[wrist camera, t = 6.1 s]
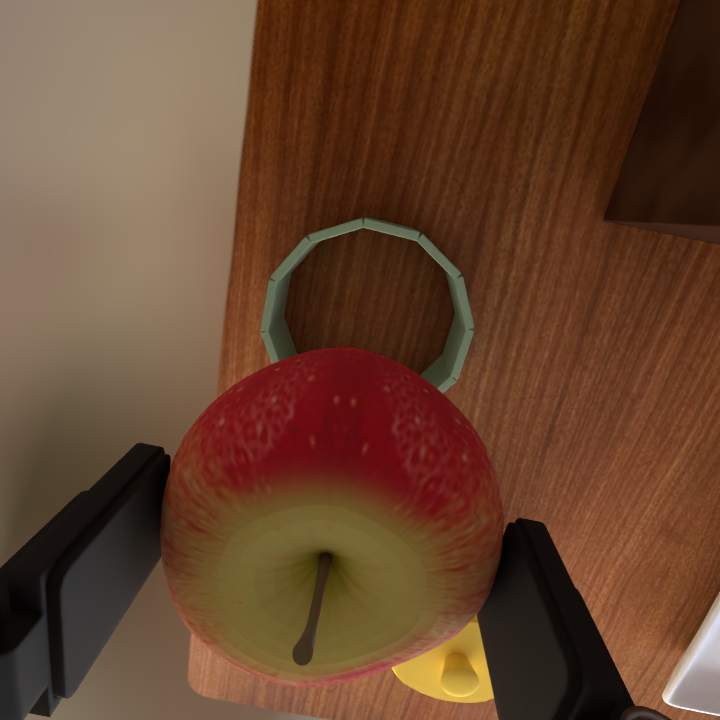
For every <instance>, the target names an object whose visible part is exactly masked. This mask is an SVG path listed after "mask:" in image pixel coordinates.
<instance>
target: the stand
mask: <svg viewBox="0 0 720 720" xmlns="http://www.w3.org/2000/svg"><path fill="white" fill-rule="evenodd" d="M604 221H607V222H612V223H617V224H621V225H626V226H631V227H636V228H641V229H646V230H651V231H656V232H661V233H666V234H670V235H675V236H680V237H685V238H690V239H695V240H700V241H705V242H710V243H714V244H719V245H720V0H681V2H680V5H679V8H678V10H677V13H676V16H675V19H674V22H673V24H672V27H671V30H670V33H669V36H668V39H667V41H666V44H665V47H664V50H663V53H662V56H661V58H660V61H659V64H658V67H657V70H656V73H655V75H654V78H653V81H652V84H651V87H650V89H649V92H648V95H647V98H646V101H645V104H644V106H643V109H642V112H641V115H640V118H639V121H638V123H637V126H636V129H635V132H634V135H633V138H632V140H631V143H630V146H629V149H628V152H627V154H626V157H625V160H624V163H623V166H622V169H621V171H620V174H619V177H618V180H617V183H616V186H615V188H614V191H613V194H612V197H611V200H610V203H609V205H608V208H607V211H606V214H605V217H604Z"/></svg>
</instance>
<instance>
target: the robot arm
mask: <svg viewBox="0 0 720 720" xmlns="http://www.w3.org/2000/svg"><path fill="white" fill-rule="evenodd" d="M170 462H171V459H170V455H167V454H165V452H164V448H162V447H159V446H154V445H148V444H144V443H137V444H136V445H135V446H134V447H133V448H132V449H131V450H130V451H129V452H128V453H126V454H125V456H123V458H121V459H120V460H119V461H118V462H117V463H116V464H115V465H114V466H113V467H112V468H111V469H110V470H109V471H108V472H107V473H106V474H105V475H104V476H103V477H102V478H101V479H100V480H99V481H98V482H97V483H96V484H95V485H94V486H92V487H91V488H90V489H89V490H88V491H83V492H81V493H80V494H78V495H77V496H76V497H75V498H74V499H72V500H71V501H70V502H69V503H68V504H67V505H66V506H65V507H64V508H63V509H62V510H61V511H60V512H59V513H58V514H57V515H56V516H55V517H53V518H52V519H51V520H50V521H49V522H48V523H47V524H46V525H45V526H44V527H43V528H42V529H41V530H40V531H39V532H38V533H37V534H36V535H35V536H33V537H32V538H31V539H30V540H29V541H28V542H27V543H26V544H25V545H24V546H23V547H22V548H21V549H20V550H19V551H18V552H17V553H16V554H15V555H13V556H12V558H10V559H9V560H8V561H7V562H6V563H5V564H4V565H3V566H2V567H1V568H0V720H24V719H25V717H26V716H27V715H28V713H31V714H36V715H42V716H47V717H50V716H51V715H52V713H53V711H54V710H55V708H56V707H57V705H58V704H59V702H60V700H61V699H62V698H67V699H68V698H70V697H71V696H72V695H73V694H74V693H75V691H76V690H77V689H78V687H79V685H80V684H81V682H82V681H83V679H84V678H85V676H86V674H87V673H88V671H89V670H90V668H91V667H92V665H93V663H94V662H95V660H96V659H97V657H98V656H99V654H100V652H101V651H102V649H103V648H104V646H105V644H106V643H107V641H108V640H109V638H110V636H111V635H112V633H113V632H114V630H115V629H116V627H117V626H118V624H119V622H120V621H121V619H122V618H123V616H124V614H125V613H126V611H127V610H128V608H129V607H130V605H131V604H132V602H133V600H134V599H135V597H136V596H137V594H138V592H139V591H140V589H141V588H142V586H143V585H144V583H145V581H146V580H147V578H148V577H149V575H150V574H151V572H152V570H153V569H154V567H155V566H156V564H157V563H158V561H159V559H160V558H161V556H162V554H161V537H160V530H161V508H162V500H163V494H164V489H165V486H166V482H167V478H168V475H169V471H170ZM477 619H478V624H479V629H480V634H481V638H482V643H483V648H484V653H485V657H486V662H487V667H488V671H489V676H490V681H491V686H492V690H493V695H494V700H495V704H496V709H497V714H498V718H499V720H671V719H670V718H668V717H667V716H665V715H663V714H661V713H659V712H658V711H656V710H653V709H650V708H647V707H644V706H635V705H634V703H633V701H632V699H631V697H630V695H629V692H628V690H627V688H626V686H625V684H624V682H623V680H622V678H621V676H620V674H619V672H618V670H617V668H616V666H615V664H614V662H613V660H612V658H611V656H610V654H609V651H608V649H607V647H606V645H605V643H604V641H603V639H602V637H601V635H600V633H599V631H598V629H597V627H596V625H595V623H594V621H593V619H592V617H591V615H590V613H589V610H588V608H587V606H586V604H585V602H584V600H583V598H582V596H581V594H580V593H579V591H578V590H577V589H576V588H575V586H574V584H573V582H572V580H571V578H570V576H569V574H568V572H567V570H566V568H565V566H564V564H563V562H562V559H561V557H560V555H559V553H558V551H557V549H556V547H555V545H554V543H553V541H552V539H551V537H550V535H549V533H548V530H547V528H546V526H545V525H544V523H542V522H538V521H533V520H528V519H523V518H518V519H517V520H516V521H515V523H512V522H510V523H509V524H508V525H507V527H506V530H505V532H504V535H503V542H502V552H501V559H500V563H499V567H498V570H497V574H496V577H495V580H494V583H493V586H492V588H491V591H490V593H489V595H488V597H487V599H486V601H485V603H484V605H483V606H482V608H481V609H480V611H479V612H478V613H477Z"/></svg>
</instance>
